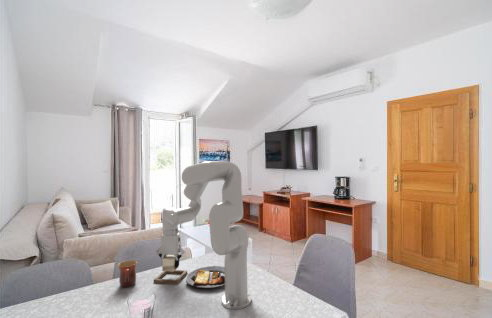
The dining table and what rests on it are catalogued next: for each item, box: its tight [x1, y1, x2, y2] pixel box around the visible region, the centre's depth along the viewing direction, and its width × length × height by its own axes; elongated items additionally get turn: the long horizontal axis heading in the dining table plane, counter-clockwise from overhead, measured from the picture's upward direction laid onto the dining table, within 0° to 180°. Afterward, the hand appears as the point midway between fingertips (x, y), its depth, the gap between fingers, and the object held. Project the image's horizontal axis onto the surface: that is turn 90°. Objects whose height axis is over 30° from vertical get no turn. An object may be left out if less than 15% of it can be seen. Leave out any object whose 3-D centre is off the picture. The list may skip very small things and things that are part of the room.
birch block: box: [161, 255, 180, 272], centre depth 132 cm, size 6×6×6 cm
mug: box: [117, 259, 138, 288], centre depth 124 cm, size 12×9×10 cm
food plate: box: [185, 265, 225, 289], centre depth 129 cm, size 25×23×4 cm
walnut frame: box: [153, 269, 188, 285], centre depth 132 cm, size 12×12×2 cm
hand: (170, 266), depth 132 cm, fingers closed on birch block, 6 cm apart
